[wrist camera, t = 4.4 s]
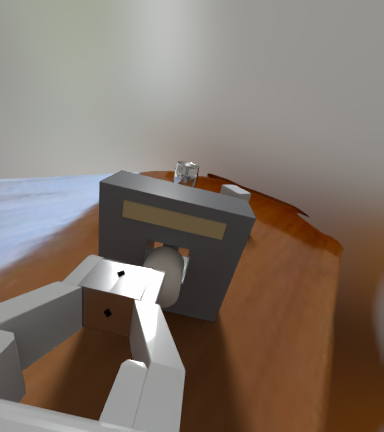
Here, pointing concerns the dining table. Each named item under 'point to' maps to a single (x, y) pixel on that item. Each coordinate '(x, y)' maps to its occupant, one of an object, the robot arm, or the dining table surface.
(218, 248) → the control block
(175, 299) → the knob
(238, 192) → the small box
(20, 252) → the dining table surface
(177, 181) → the beer glass
